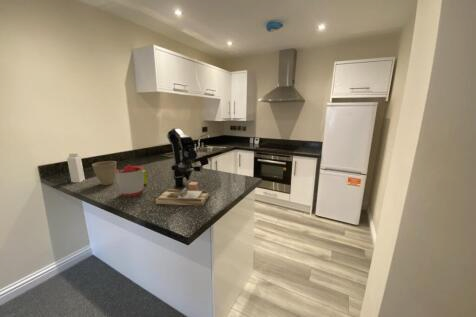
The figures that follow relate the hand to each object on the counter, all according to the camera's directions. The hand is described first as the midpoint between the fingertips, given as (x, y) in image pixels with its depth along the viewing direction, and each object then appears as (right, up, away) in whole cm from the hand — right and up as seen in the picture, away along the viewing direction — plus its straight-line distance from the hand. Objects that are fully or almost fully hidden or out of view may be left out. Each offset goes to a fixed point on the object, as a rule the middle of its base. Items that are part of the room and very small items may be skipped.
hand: (187, 180), depth 124 cm
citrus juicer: (-38, -9, +4) cm, 40 cm away
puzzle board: (-1, -11, -6) cm, 12 cm away
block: (+2, -8, +7) cm, 11 cm away
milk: (-93, -4, +28) cm, 97 cm away
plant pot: (-67, -5, +22) cm, 71 cm away
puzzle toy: (-44, -5, +22) cm, 49 cm away
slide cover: (+3, -9, -7) cm, 12 cm away
